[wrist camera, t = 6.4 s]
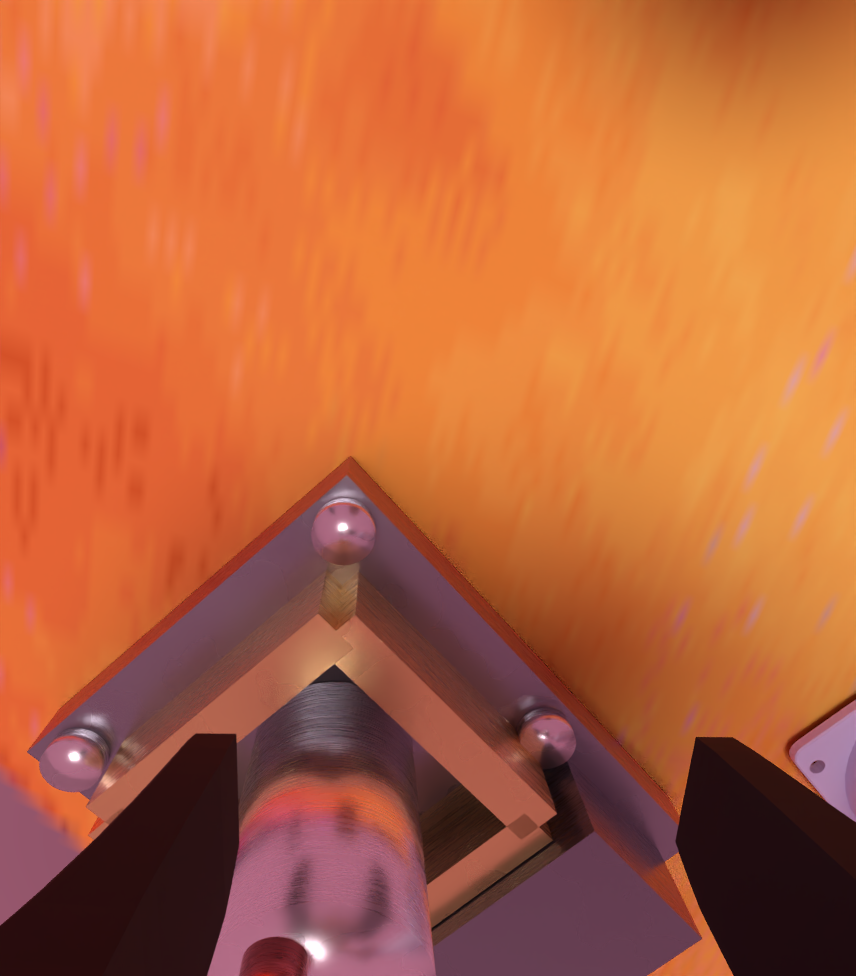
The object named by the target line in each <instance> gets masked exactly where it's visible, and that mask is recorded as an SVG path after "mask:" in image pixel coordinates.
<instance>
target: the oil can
mask: <svg viewBox="0 0 856 976" xmlns="http://www.w3.org/2000/svg"><path fill="white" fill-rule="evenodd" d="M238 810H239V849H238V854H237V859H236V864H235V870H234V875H233V880H232V885H231V890H230V895H229V900H228V905H227V910H226V915H225V918H224V922H223V925H222V928H221V932H220V935H219V938H218V942H217V945H216V948H215V952H214V955H213V958H212V962H211V965H210V968H209V971H208V975H207V976H436V972H435V962H434V952H433V942H432V932H431V923H430V913H429V903H428V893H427V883H426V873H425V863H424V853H423V843H422V833H421V823H420V813H419V803H418V793H417V783H416V774H415V764H414V754H413V744H412V736H411V735H409V734H408V733H407V732H406V731H405V730H404V729H403V728H402V727H401V726H400V725H399V724H398V723H397V722H396V721H395V720H394V719H393V718H392V717H390V716H389V715H388V714H387V713H386V712H385V711H384V710H383V709H382V708H381V707H380V706H379V705H378V704H377V703H376V702H375V701H374V700H372V699H371V698H370V697H369V696H368V695H367V694H366V693H365V692H364V691H363V690H362V689H361V688H360V687H359V686H358V685H357V684H354V683H347V682H324V683H318V684H313V685H309V686H307V687H305V688H304V689H303V690H302V691H301V692H299V693H298V694H297V695H296V696H294V697H293V698H292V699H291V700H290V701H288V702H287V703H286V704H285V705H283V706H282V707H281V708H280V709H278V710H277V711H276V712H275V713H274V714H272V715H271V716H270V717H269V718H267V719H266V720H265V721H264V722H263V723H261V724H260V726H259V728H258V731H257V734H256V737H255V741H254V745H253V749H252V753H251V757H250V761H249V766H248V770H247V774H246V778H245V782H244V786H243V790H242V794H241V798H240V803H239V807H238Z"/></svg>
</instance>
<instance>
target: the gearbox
mask: <svg viewBox="0 0 856 976" xmlns="http://www.w3.org/2000/svg"><path fill="white" fill-rule="evenodd" d="M324 682H347V683H354V684H357V685H358V686H359V687H360V688H361V689H362V690H363V691H364V692H365V693H366V694H367V695H368V696H369V697H370V698H371V699H372V700H374V701H375V702H376V703H377V704H378V705H379V706H380V707H381V708H382V709H383V710H384V711H385V712H386V713H387V714H388V715H389V716H390V717H392V718H393V719H394V720H395V721H396V722H397V723H398V724H399V725H400V726H401V727H402V728H403V729H404V730H405V731H406V732H407V733H408V734H409V735H411V736H412V744H413V754H414V764H415V774H416V783H417V793H418V803H419V813H420V823H421V833H422V843H423V853H424V863H425V873H426V883H427V893H428V903H429V913H430V923H431V932H432V942H433V952H434V962H435V972H436V976H647V975H649V974H650V973H652V972H653V971H655V970H656V969H658V968H659V967H661V966H662V965H664V964H665V963H667V962H668V961H670V960H671V959H673V958H674V957H676V956H677V955H679V954H680V953H682V952H683V951H684V950H686V949H687V948H689V947H690V946H692V945H693V944H695V943H696V942H698V941H699V940H701V939H702V937H701V935H700V933H699V931H698V929H697V927H696V925H695V923H694V921H693V919H692V917H691V915H690V913H689V911H688V909H687V907H686V905H685V903H684V901H683V899H682V896H681V894H680V892H679V890H678V888H677V886H676V884H675V882H674V880H673V878H672V876H671V874H670V872H669V870H668V868H667V866H666V864H665V861H666V860H668V859H669V858H671V857H672V856H673V855H675V854H676V853H678V852H679V851H678V848H677V845H676V842H675V840H676V835H677V830H678V825H679V820H680V817H679V815H678V813H677V812H676V810H675V808H674V806H673V804H672V803H671V801H670V799H669V797H668V796H667V795H666V793H665V792H664V791H663V790H662V789H661V788H660V787H659V786H658V785H657V784H656V783H655V782H654V781H653V780H652V778H651V777H650V776H649V775H648V774H647V773H646V772H645V771H644V770H643V769H642V768H641V767H640V766H639V765H638V763H637V762H636V761H635V760H634V759H633V758H632V757H631V756H630V755H629V754H628V753H627V752H626V751H625V750H624V748H623V747H622V746H621V745H620V744H619V743H618V742H617V741H616V740H615V739H614V738H613V737H612V736H611V735H610V733H609V732H608V731H607V730H606V729H605V728H604V727H603V726H602V725H601V724H600V723H599V722H598V721H597V720H596V719H595V717H594V716H593V715H592V714H591V713H590V712H589V711H588V710H587V709H586V708H585V707H584V706H583V705H582V704H581V702H580V701H579V700H578V699H577V698H576V697H575V696H574V695H573V694H572V693H571V692H570V691H569V690H568V689H567V687H566V686H565V685H564V684H563V683H562V682H561V681H560V680H559V679H558V678H557V677H556V676H555V675H554V674H553V672H552V671H551V670H550V669H549V668H548V667H547V666H546V665H545V664H544V663H543V662H542V661H541V660H540V659H539V657H538V656H537V655H536V654H535V653H534V652H533V651H532V650H531V649H530V648H529V647H528V646H527V645H526V644H525V642H524V641H523V640H522V639H521V638H520V637H519V636H518V635H517V634H516V633H515V632H514V631H513V630H512V629H511V627H510V626H509V625H508V624H507V623H506V622H505V621H504V620H503V619H502V618H501V617H500V616H499V615H498V614H497V612H496V611H495V610H494V609H493V608H492V607H491V606H490V605H489V604H488V603H487V602H486V601H485V600H484V599H483V597H482V596H481V595H480V594H479V593H478V592H477V591H476V590H475V589H474V588H473V587H472V586H471V585H470V584H469V582H468V581H467V580H466V579H465V578H464V577H463V576H462V575H461V574H460V573H459V572H458V571H457V570H456V569H455V567H454V566H453V565H452V564H451V563H450V562H449V561H448V560H447V559H446V558H445V557H444V556H443V555H442V554H441V552H440V551H439V550H438V549H437V548H436V547H435V546H434V545H433V544H432V543H431V542H430V541H429V540H428V539H427V537H426V536H425V535H424V534H423V533H422V532H421V531H420V530H419V529H418V528H417V527H416V526H415V525H414V524H413V522H412V521H411V520H410V519H409V518H408V517H407V516H406V515H405V514H404V513H403V512H402V511H401V510H400V509H399V507H398V506H397V505H396V504H395V503H394V502H393V501H392V500H391V499H390V498H389V497H388V496H387V495H386V494H385V492H384V491H383V490H382V489H381V488H380V487H379V486H378V485H377V484H376V483H375V482H374V481H373V480H372V479H371V477H370V476H369V475H368V474H367V473H366V472H365V471H364V470H363V469H362V468H361V467H360V466H359V465H358V464H357V462H356V461H355V460H354V459H353V458H352V457H351V456H350V457H349V458H348V459H347V460H345V461H344V462H343V463H342V464H341V465H340V466H339V467H337V468H336V469H335V470H334V471H333V472H332V473H330V474H329V475H328V476H327V477H326V478H325V479H324V480H322V481H321V482H320V483H319V484H318V485H317V486H316V487H314V488H313V489H312V490H311V491H310V492H309V493H307V494H306V495H305V496H304V497H303V498H302V499H301V500H299V501H298V502H297V503H296V504H295V505H294V506H293V507H291V508H290V509H289V510H288V511H287V512H286V513H284V514H283V515H282V516H281V517H280V518H279V519H278V520H276V521H275V522H274V523H273V524H272V525H271V526H269V527H268V528H267V529H266V530H265V531H264V532H263V533H261V534H260V535H259V536H258V537H257V538H256V539H255V540H253V541H252V542H251V543H250V544H249V545H248V546H246V547H245V548H244V549H243V550H242V551H241V552H240V553H238V554H237V555H236V556H235V557H234V558H233V559H232V560H230V561H229V562H228V563H227V564H226V565H225V566H223V567H222V568H221V569H220V570H219V571H218V572H217V573H215V574H214V575H213V576H212V577H211V578H210V579H209V580H207V581H206V582H205V583H204V584H203V585H202V586H200V587H199V588H198V589H197V590H196V591H195V592H194V593H192V594H191V595H190V596H189V597H188V598H187V599H185V600H184V601H183V602H182V603H181V604H180V605H179V606H177V607H176V608H175V609H174V610H173V611H172V612H171V613H169V614H168V615H167V616H166V617H165V618H164V619H162V620H161V621H160V622H159V623H158V624H157V625H156V626H154V627H153V628H152V629H151V630H150V631H149V632H148V633H146V634H145V635H144V636H143V637H142V638H141V639H139V640H138V641H137V642H136V643H135V644H134V645H133V646H131V647H130V648H129V649H128V650H127V651H126V652H125V653H123V654H122V655H121V656H120V657H119V658H118V659H116V660H115V661H114V662H113V663H112V664H111V665H110V666H108V667H107V668H106V669H105V670H104V671H103V672H101V673H100V674H99V675H98V676H97V677H96V678H95V679H93V680H92V681H91V682H90V683H89V684H88V685H87V686H85V687H84V688H83V689H82V690H81V691H80V692H78V693H77V694H76V695H75V696H74V697H73V698H72V699H70V700H69V701H68V702H67V703H66V704H65V705H64V706H62V707H61V708H60V709H59V710H58V712H57V713H56V714H55V716H54V717H53V718H52V720H51V721H50V722H49V724H48V725H47V726H46V727H45V729H44V730H43V731H42V733H41V734H40V735H39V737H38V738H37V739H36V741H35V742H34V743H33V744H32V746H31V747H30V748H29V750H28V751H27V752H28V753H29V754H30V755H32V756H33V757H34V758H36V759H37V760H38V761H39V762H40V763H39V767H40V772H41V774H42V776H43V778H44V779H45V780H46V781H47V782H48V783H49V784H50V785H51V786H53V787H55V788H57V789H59V790H62V791H66V792H80V793H81V794H83V795H84V796H85V797H87V798H88V799H89V800H90V801H89V802H88V804H87V806H86V808H88V809H89V810H90V811H92V812H93V813H94V814H96V815H97V816H98V818H97V820H96V822H95V823H94V825H93V827H92V829H91V831H90V833H89V835H88V836H90V837H91V838H92V839H94V840H95V839H96V838H97V837H98V836H99V835H100V834H101V833H102V832H103V831H104V830H105V829H106V827H107V826H108V825H109V824H110V823H111V822H112V821H113V820H114V819H115V818H116V817H117V816H118V815H119V814H120V813H121V812H122V811H123V810H124V809H125V808H126V807H127V806H128V805H129V804H130V803H131V802H132V801H133V800H134V799H135V798H136V797H137V795H138V794H139V793H140V792H141V791H142V790H143V789H144V788H145V787H146V786H147V785H148V784H149V783H150V781H151V780H152V779H153V778H154V777H155V776H156V775H157V774H158V773H159V772H160V771H161V769H162V768H163V767H164V766H165V765H166V764H167V763H168V762H169V761H170V759H171V758H172V757H173V756H174V755H175V754H176V753H177V752H178V750H179V749H180V748H181V747H182V746H183V745H184V744H185V743H186V742H187V740H188V739H190V738H191V737H192V736H193V735H194V734H195V733H211V734H236V736H237V773H238V807H239V803H240V798H241V794H242V790H243V786H244V782H245V778H246V774H247V770H248V766H249V761H250V757H251V753H252V749H253V745H254V741H255V737H256V734H257V731H258V728H259V726H260V724H261V723H263V722H264V721H265V720H266V719H267V718H269V717H270V716H271V715H272V714H274V713H275V712H276V711H277V710H278V709H280V708H281V707H282V706H283V705H285V704H286V703H287V702H288V701H290V700H291V699H292V698H293V697H294V696H296V695H297V694H298V693H299V692H301V691H302V690H303V689H304V688H305V687H307V686H309V685H313V684H318V683H324Z"/></svg>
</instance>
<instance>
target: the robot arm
mask: <svg viewBox="0 0 856 976" xmlns="http://www.w3.org/2000/svg"><path fill="white" fill-rule="evenodd" d="M789 756H790V758H791V760H792V761H793V762H794V763H795V764H796V766H797V767H798V768H799V769H800V770H801V772H802V773H803V774H804V775H805V776H806V778H807V779H808V780H809V781H810V782H811V784H812V785H813V786H814V787H815V788H816V790H817V791H818V792H819V793H820V794H821V796H822V797H823V798H824V799H825V800H826V801H825V800H823V799H822V798H821V797H819V796H818V795H816V794H815V793H813V792H812V791H811V790H809V789H808V788H806V787H805V786H804V785H802V784H801V783H799V782H798V781H797V780H795V779H794V778H792V777H791V776H789V775H788V774H787V773H785V772H784V771H782V770H781V769H780V768H778V767H777V766H775V765H774V764H772V763H771V762H770V761H768V760H767V759H765V758H764V757H762V756H761V755H759V754H758V753H756V752H755V751H753V750H752V749H750V748H749V747H747V746H746V745H744V744H743V743H741V742H739V741H738V740H736V739H734V738H733V737H696V739H695V744H694V749H693V754H692V759H691V764H690V769H689V774H688V780H687V785H686V790H685V795H684V800H683V805H682V810H681V815H680V820H679V825H678V830H677V835H676V840H675V842H676V845H677V848H678V851H679V854H680V857H681V859H682V862H683V865H684V868H685V871H686V873H687V876H688V879H689V882H690V884H691V887H692V889H693V892H694V894H695V897H696V900H697V902H698V905H699V907H700V910H701V912H702V914H703V916H704V918H705V920H706V922H707V924H708V926H709V928H710V930H711V932H712V934H713V936H714V938H715V940H716V942H717V944H718V946H719V948H720V950H721V952H722V954H723V956H724V958H725V960H726V962H727V964H728V966H729V968H730V969H731V971H732V973H733V975H734V976H856V700H854V701H853V702H851V703H850V704H848V705H847V706H846V707H844V708H843V709H841V710H840V711H839V712H837V713H836V714H834V715H833V716H831V717H830V718H829V719H827V720H826V721H824V722H823V723H821V724H820V725H819V726H817V727H816V728H814V729H813V730H811V731H810V732H809V733H807V734H806V735H804V736H803V737H802V738H800V739H799V740H797V741H796V742H795V743H794V744H793V745H792V746H791V748H790V750H789ZM814 761H816V762H815V763H814V764H812V763H813V762H814ZM811 764H812V765H811ZM238 849H239V810H238V773H237V736H236V734H211V733H195V734H194V735H193V736H192V737H191V738H190V739H188V740H187V742H186V743H185V744H184V745H183V746H182V747H181V748H180V749H179V750H178V752H177V753H176V754H175V755H174V756H173V757H172V758H171V759H170V761H169V762H168V763H167V764H166V765H165V766H164V767H163V768H162V769H161V771H160V772H159V773H158V774H157V775H156V776H155V777H154V778H153V779H152V780H151V781H150V783H149V784H148V785H147V786H146V787H145V788H144V789H143V790H142V791H141V792H140V793H139V794H138V795H137V797H136V798H135V799H134V800H133V801H132V802H131V803H130V804H129V805H128V806H127V807H126V808H125V809H124V810H123V811H122V812H121V813H120V814H119V815H118V816H117V817H116V818H115V819H114V820H113V821H112V822H111V823H110V824H109V825H108V826H107V827H106V829H105V830H104V831H103V832H102V833H101V834H100V835H99V836H98V837H97V838H96V839H95V840H94V841H93V842H92V843H91V844H90V845H89V846H88V847H86V848H85V849H84V850H83V851H82V852H81V853H80V854H79V855H78V856H77V857H76V858H75V859H74V860H73V861H72V862H70V863H69V864H68V865H67V866H66V867H65V868H64V869H63V870H62V871H61V872H60V873H59V874H58V875H57V876H56V877H55V878H53V879H52V880H51V881H50V882H49V883H48V884H47V885H46V886H45V887H44V888H43V889H42V890H41V891H40V892H38V893H37V894H36V895H35V896H34V897H33V898H32V899H30V900H29V901H28V902H27V903H26V904H25V905H24V906H23V907H21V908H20V909H19V910H18V911H17V912H16V913H15V914H13V915H12V916H11V917H10V918H9V919H7V920H6V921H5V922H4V923H3V924H2V925H0V976H207V975H208V971H209V968H210V965H211V962H212V958H213V955H214V952H215V948H216V945H217V942H218V938H219V935H220V932H221V928H222V925H223V922H224V918H225V915H226V910H227V905H228V900H229V895H230V890H231V885H232V880H233V875H234V870H235V864H236V859H237V854H238Z"/></svg>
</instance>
